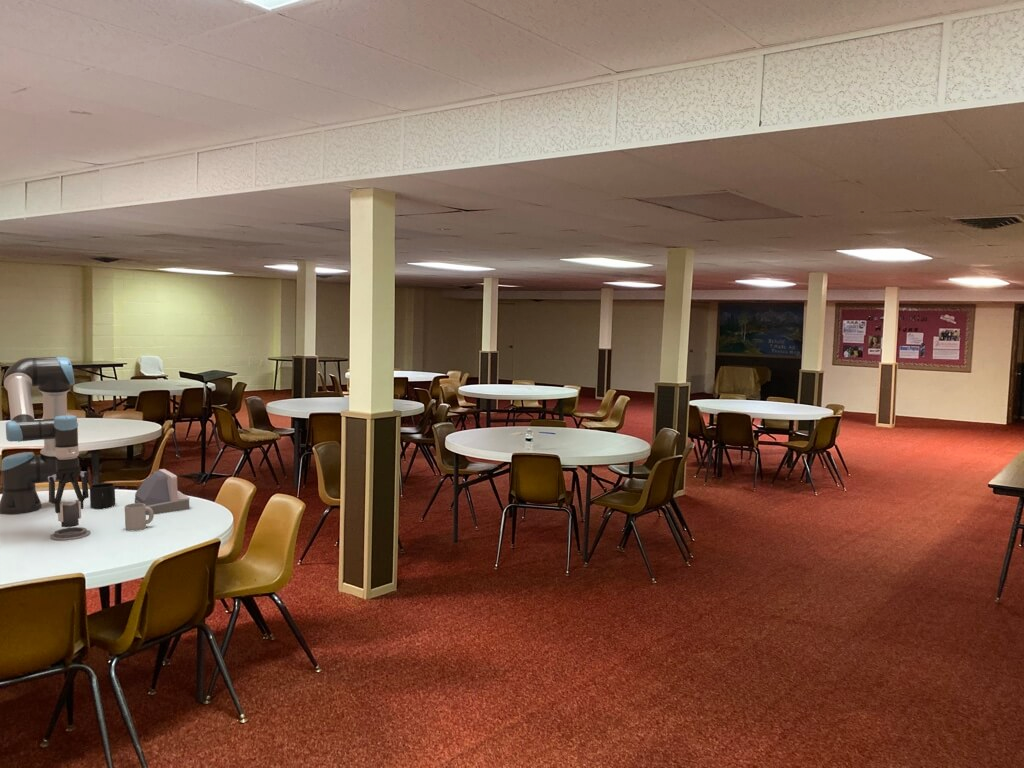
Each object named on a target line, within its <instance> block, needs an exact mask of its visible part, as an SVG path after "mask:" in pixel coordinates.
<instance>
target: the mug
mask: <svg viewBox="0 0 1024 768" xmlns="http://www.w3.org/2000/svg"><path fill="white" fill-rule="evenodd" d="M89 501H90V503H89V504H90V505H89V506H90V508H91V509H93V508H94V510H95V509H96V510H101V509H102V510H103V508H105V509H110V508H113V507H115V506H114V505H116V489H115V484H114V483H111V482H110V483H109V482H105V483H95V484H91V485H90V486H89ZM112 506H113V507H112ZM109 507H110V508H109Z"/></svg>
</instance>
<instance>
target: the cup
mask: <svg viewBox="0 0 1024 768" xmlns="http://www.w3.org/2000/svg"><path fill="white" fill-rule="evenodd" d="M146 511H148V512H149V515H148V518H147V515H146ZM154 517H155V514H154V513H153V510H152V509H151V508H150V507H145V504H143V503H135V502H134V503H128V504H126V505H124V523H125V524H124V525H125V530H126V529H127V531H130V530H134V531H140V529H141V530H144V529H146V527H147V525H148V524H150V523H152V521H153V520H154Z"/></svg>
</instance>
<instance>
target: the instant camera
mask: <svg viewBox="0 0 1024 768" xmlns="http://www.w3.org/2000/svg"><path fill="white" fill-rule="evenodd" d="M134 494H135V495H134V503H143V504H145V507H150V508H151V509H152V510H153V513H154V515H159V514H166V513H172V512H173V513H174V512H180V511H187V510H190V497H189V496H188V495H186V494H185V493H182V492H181V491H180V490H178V476H177V475H176V474H174V472H171V471H169V470H168V469H165V468H160V469H158V470H155V471H151V475H149V477H145V479H144V480H143V481H142V483H141V485H140V486H139V487H138V488H137V490H136V492H135V493H134ZM146 516H149V512H148V511H146Z"/></svg>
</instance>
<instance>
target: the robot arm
mask: <svg viewBox="0 0 1024 768" xmlns="http://www.w3.org/2000/svg"><path fill="white" fill-rule="evenodd" d="M75 384H76V382H75V375H74V368H73V365H72V362H71V360H70V358H68V356H67V357H64V356H63V357H62V356H48V357H46V356H45V357H44V356H43V357H25V358H20V359H18V360H17V361H15V362H14V363H12V365H10V366H9V367H8V368H7V369H6V372H5V373H4V376H3V386H4V388H5V390H6V391H7V397H8V398H7V399H8V406H9V413H10V414H9V415H10V417H9V418H10V421H7V422H5V436H6V437H5V438H6V440H7V442H18V443H19V442H27V441H40V440H41V441H42V440H43V443H44V444H43V446H44V447H42V449H40V451H39V452H40V454H39V455H38V454H37V455H36V454H35V453H34V452H33V451H28V452H27V451H23V452H18V453H14V454H10V455H6V456H5V457H3V459H2V460H1V469H0V471H1V475H2V479H1V480H2V494H1V498H0V514H6V515H15V514H25V513H31V512H34V511H39V510H40V509H42V502H41V499H40V497H39V494H38V492H37V489H36V488H37V487H36V484H39V483H48V503H50V504H52V505H54V512H55V513H56V514H57V518H58V519H57V521H58V522H60V523H61V522H63V503H62V498H63V494H64V490H65V487H66V485H67V484H69V483H71V484H72V488H73V490H74V492H75V495H76V498H77V499H78V500H75V502H76V503H78V519H82V510H83V509H84V501H85V500H86V499H88V498H90V493H89V485H88V478H89V477H88V476H89V472H88V471H85V470H84V471H82V470H80V457H78V456H79V453H80V452H79V433H78V432H79V431H78V430H79V429H78V427H79V423H78V417H77V416H76V415H72V414H68V404H67V403H68V397H67V394H68V392H70V391H71V389H72V387H71V386H73V385H75ZM32 387H38V388H37V389H38V392H40V393H41V394H42V407H43V408H42V409H43V411H42V412H43V414H42V415H43V419H35V415H34V407H33V399H32V398H33V397H32V394H31V393H32V392H31V388H32ZM78 477H80V480H81V487H80V485H79V481H78ZM56 482H57V483H58V484H57V485H58V487H57V491H56Z"/></svg>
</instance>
